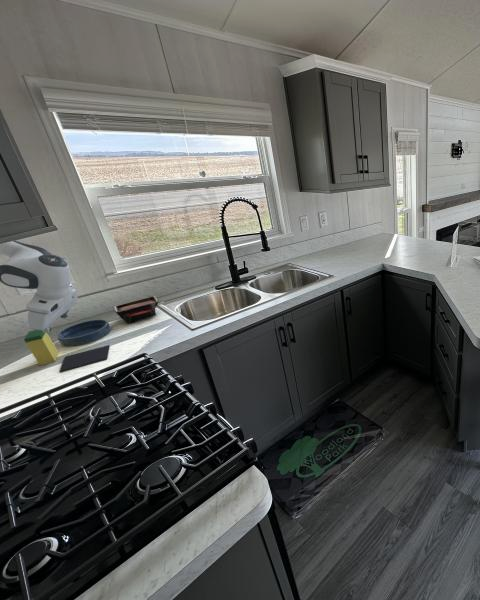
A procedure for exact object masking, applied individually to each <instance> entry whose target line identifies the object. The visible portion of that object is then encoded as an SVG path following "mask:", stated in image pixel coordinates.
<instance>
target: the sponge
mask: <svg viewBox="0 0 480 600" xmlns="http://www.w3.org/2000/svg"><path fill="white" fill-rule="evenodd" d="M23 340H24V342H25V344H26V346H27V347H28V349H29V351H30V352H31V354H32V356H33V357H34V359H35V360H36V362H37V363H38V365H39V366H42V365H46V364H49V363H53V362H56V360H57V358H58V356H59V351H58V349H57V348H56V346H55V344H54V342H53V341H52V339H51V337H50V335H49V333H44V332H43V331H41V330H35V329H33V330H31V331H28V332H27V334H26V335H25V337H24V339H23Z"/></svg>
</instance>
